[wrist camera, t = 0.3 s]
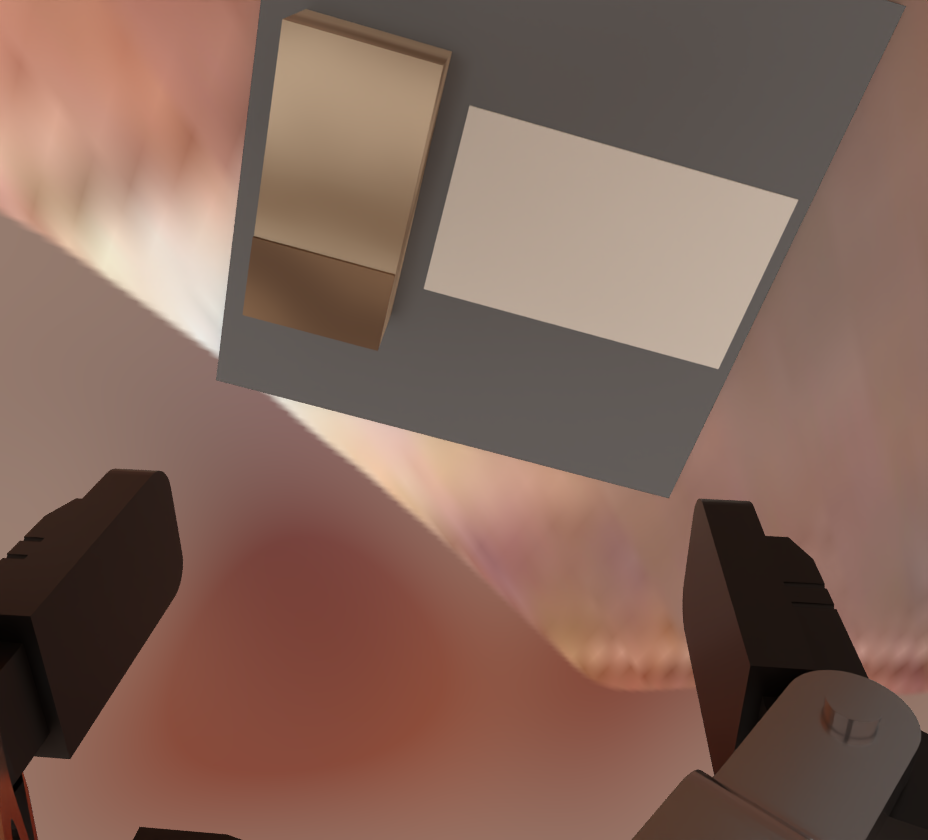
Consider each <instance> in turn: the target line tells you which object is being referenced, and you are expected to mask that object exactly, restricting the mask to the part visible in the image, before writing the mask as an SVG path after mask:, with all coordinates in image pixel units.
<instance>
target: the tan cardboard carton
mask: <svg viewBox="0 0 928 840" xmlns="http://www.w3.org/2000/svg"><path fill="white" fill-rule="evenodd" d="M451 54H452V51H449V50H446V49H442V48H439V47H435V46H432V45H428V44H425V43H421V42H418V41H415V40H411V39H408V38H404V37H401V36H397V35H394V34H390V33H387V32H384V31H380V30H377V29H373V28H370V27H366V26H363V25H360V24H356V23H353V22H349V21H346V20H342V19H339V18H335V17H332V16H329V15H325V14H322V13H318V12H315V11H311V10H308V9H305V10H302V11H300V12H298V13H296V14H293V15H291V16H289V17H286V18H284V19H282V26H281V33H280V41H279V49H278V56H277V64H276V71H275V79H274V87H273V94H272V102H271V109H270V117H269V125H268V132H267V140H266V147H265V155H264V163H263V170H262V178H261V186H260V193H259V201H258V208H257V216H256V224H255V231H254V236H253V238H252V246H251V253H250V261H249V269H248V276H247V284H246V292H245V299H244V307H243V315H244V316H248V317H252V318H256V319H259V320H263V321H267V322H271V323H274V324H278V325H282V326H286V327H289V328H293V329H297V330H301V331H304V332H308V333H312V334H316V335H319V336H323V337H327V338H331V339H334V340H338V341H342V342H346V343H349V344H353V345H357V346H361V347H364V348H368V349H372V350H376V351H378V349H379V346H380V343H381V341H382V338H383V335H384V332H385V330H386V327H387V324H388V322H389V319H390V316H391V313H392V308H393V304H394V300H395V295H396V291H397V287H398V282H399V278H400V274H401V270H402V265H403V261H404V257H405V252H406V248H407V244H408V239H409V235H410V231H411V226H412V222H413V218H414V214H415V209H416V205H417V201H418V196H419V192H420V188H421V183H422V179H423V175H424V170H425V166H426V162H427V158H428V153H429V149H430V145H431V140H432V136H433V132H434V127H435V123H436V119H437V115H438V110H439V106H440V102H441V97H442V93H443V89H444V84H445V80H446V76H447V71H448V67H449V63H450V59H451Z"/></svg>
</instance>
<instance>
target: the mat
mask: <svg viewBox="0 0 928 840" xmlns="http://www.w3.org/2000/svg"><path fill="white" fill-rule="evenodd" d="M905 7H906V6H903V5H900V4H897V3H894V2H890V1H887V0H261V5H260V13H259V22H258V30H257V39H256V47H255V56H254V64H253V73H252V81H251V90H250V98H249V106H248V115H247V123H246V132H245V140H244V149H243V157H242V166H241V174H240V183H239V191H238V200H237V208H236V217H235V225H234V233H233V242H232V250H231V259H230V267H229V276H228V284H227V293H226V301H225V310H224V318H223V327H222V335H221V343H220V352H219V362H218V369H217V377H216V380H217V381H221V382H225V383H229V384H233V385H237V386H241V387H244V388H248V389H252V390H256V391H260V392H263V393H267V394H271V395H275V396H279V397H283V398H286V399H290V400H294V401H298V402H302V403H306V404H309V405H313V406H317V407H321V408H325V409H329V410H332V411H336V412H340V413H344V414H348V415H352V416H355V417H359V418H363V419H367V420H371V421H375V422H378V423H382V424H386V425H390V426H394V427H398V428H401V429H405V430H409V431H413V432H417V433H421V434H424V435H428V436H432V437H436V438H440V439H444V440H447V441H451V442H455V443H459V444H463V445H467V446H470V447H474V448H478V449H482V450H486V451H490V452H493V453H497V454H501V455H505V456H509V457H513V458H516V459H520V460H524V461H528V462H532V463H536V464H539V465H543V466H547V467H551V468H555V469H559V470H562V471H566V472H570V473H574V474H578V475H582V476H585V477H589V478H593V479H597V480H601V481H605V482H608V483H612V484H616V485H620V486H624V487H628V488H631V489H635V490H639V491H643V492H647V493H651V494H654V495H658V496H662V497H666V498H669V496H670V494H671V492H672V490H673V488H674V486H675V484H676V482H677V480H678V478H679V476H680V474H681V472H682V470H683V467H684V465H685V463H686V461H687V459H688V457H689V455H690V453H691V451H692V449H693V447H694V445H695V443H696V441H697V438H698V436H699V434H700V432H701V430H702V428H703V426H704V424H705V422H706V420H707V418H708V416H709V414H710V411H711V409H712V407H713V405H714V403H715V401H716V399H717V397H718V395H719V393H720V391H721V389H722V387H723V385H724V382H725V380H726V378H727V376H728V374H729V372H730V370H731V368H732V366H733V364H734V362H735V360H736V358H737V356H738V353H739V351H740V349H741V347H742V345H743V343H744V341H745V339H746V337H747V335H748V333H749V331H750V329H751V326H752V324H753V322H754V320H755V318H756V316H757V314H758V312H759V310H760V308H761V306H762V304H763V302H764V300H765V297H766V295H767V293H768V291H769V289H770V287H771V285H772V283H773V281H774V279H775V277H776V275H777V273H778V271H779V268H780V266H781V264H782V262H783V260H784V258H785V256H786V254H787V252H788V250H789V248H790V246H791V244H792V241H793V239H794V237H795V235H796V233H797V231H798V229H799V227H800V225H801V223H802V221H803V219H804V217H805V215H806V212H807V210H808V208H809V206H810V204H811V202H812V200H813V198H814V196H815V194H816V192H817V190H818V188H819V186H820V183H821V181H822V179H823V177H824V175H825V173H826V171H827V169H828V167H829V165H830V163H831V161H832V159H833V156H834V154H835V152H836V150H837V148H838V146H839V144H840V142H841V140H842V138H843V136H844V134H845V132H846V130H847V127H848V125H849V123H850V121H851V119H852V117H853V115H854V113H855V111H856V109H857V107H858V105H859V103H860V101H861V98H862V96H863V94H864V92H865V90H866V88H867V86H868V84H869V82H870V80H871V78H872V76H873V74H874V71H875V69H876V67H877V65H878V63H879V61H880V59H881V57H882V55H883V53H884V51H885V49H886V47H887V45H888V42H889V40H890V38H891V36H892V34H893V32H894V30H895V28H896V26H897V24H898V22H899V20H900V18H901V15H902V13H903V11H904V9H905ZM305 9H308V10H311V11H315V12H318V13H322V14H325V15H329V16H332V17H335V18H339V19H342V20H346V21H349V22H353V23H356V24H360V25H363V26H366V27H370V28H373V29H377V30H380V31H384V32H387V33H390V34H394V35H397V36H401V37H404V38H408V39H411V40H415V41H418V42H421V43H425V44H428V45H432V46H435V47H439V48H442V49H446V50H449V51H452V54H451V59H450V63H449V67H448V71H447V76H446V80H445V84H444V89H443V93H442V97H441V102H440V106H439V110H438V115H437V119H436V123H435V127H434V132H433V136H432V140H431V145H430V149H429V153H428V158H427V162H426V166H425V170H424V175H423V179H422V183H421V188H420V192H419V196H418V201H417V205H416V209H415V214H414V218H413V222H412V226H411V231H410V235H409V239H408V244H407V248H406V252H405V257H404V261H403V265H402V270H401V274H400V278H399V282H398V287H397V291H396V295H395V300H394V304H393V308H392V313H391V316H390V319H389V322H388V324H387V327H386V330H385V332H384V335H383V338H382V341H381V343H380V346H379V349H378V351H376V350H372V349H368V348H364V347H361V346H357V345H353V344H349V343H346V342H342V341H338V340H334V339H331V338H327V337H323V336H319V335H316V334H312V333H308V332H304V331H301V330H297V329H293V328H289V327H286V326H282V325H278V324H274V323H271V322H267V321H263V320H259V319H256V318H252V317H248V316H244V315H243V307H244V299H245V292H246V284H247V276H248V269H249V261H250V253H251V246H252V238H253V236H254V231H255V224H256V216H257V208H258V201H259V193H260V186H261V178H262V170H263V163H264V155H265V147H266V140H267V132H268V125H269V117H270V109H271V102H272V94H273V87H274V79H275V71H276V64H277V56H278V49H279V41H280V33H281V26H282V19H284V18H286V17H289V16H291V15H293V14H296V13H298V12H300V11H302V10H305Z"/></svg>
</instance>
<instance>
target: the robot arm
mask: <svg viewBox="0 0 928 840" xmlns="http://www.w3.org/2000/svg"><path fill="white" fill-rule="evenodd" d="M182 570H183V556H182V550H181V544H180V538H179V533H178V526H177V521H176V515H175V510H174V503H173V498H172V492H171V487H170V482H169V479H168V477H167V476H166V474H165V473H164V472H162V471H151V470H132V469H112V470H110V471H109V472H108V473H107V474H105V476H104V477H103V478H102V479H101V480H100V481H99V482H98V483H97V484H96V485H95V486H94V487H93V488H92V489H91V490H90V491H89V492H88V493H87V494H86V495H85V496H84V497H83V498H82V499H78V498H77V499H74V500H72V501H71V502H69V503H67V504H65V505H63V506H62V507H60V508H58V509H56V510H55V511H53V512H51V513H49V514H47V515H46V516H44V517H43V519H41V520H40V521H39V522H38V523H37V524H36V525H35V526H34V527H33V528H32V529H31V530H30V531H29V532H28V533H27V534H26V535H25V536H24V541H19V542H18V543H17V545H15V546H14V547H13V549H12V550H11V551H9V552H8V553H7V558H2V559H1V560H0V840H38V837H37V831H36V826H35V821H34V816H33V811H32V805H31V800H30V796H29V790H28V786H27V783H26V779H25V777H24V773H23V771H24V770H25V768H26V767H27V765H28V764H29V762H30V761H31V760H32V758H33V757H34V756H37V757H50V758H62V759H70V758H71V757H72V755H73V754H74V752H75V751H76V749H77V747H78V746H79V745H80V743H81V741H82V740H83V738H84V737H85V735H86V734H87V732H88V731H89V729H90V727H91V726H92V724H93V723H94V721H95V720H96V718H97V717H98V715H99V714H100V712H101V710H102V709H103V707H104V706H105V704H106V702H107V701H108V700H109V698H110V696H111V695H112V693H113V692H114V690H115V689H116V687H117V685H118V684H119V682H120V681H121V679H122V678H123V676H124V675H125V673H126V672H127V670H128V668H129V667H130V665H131V664H132V662H133V661H134V659H135V658H136V656H137V654H138V653H139V651H140V650H141V648H142V647H143V645H144V644H145V642H146V641H147V639H148V637H149V636H150V634H151V633H152V631H153V630H154V628H155V627H156V625H157V624H158V622H159V620H160V619H161V617H162V616H163V614H164V613H165V611H166V609H167V608H168V606H169V605H170V603H171V602H172V600H173V599H174V597H175V595H176V593H177V591H178V588H179V585H180V581H181V577H182ZM824 585H825V584H824V581H823V579H822V577H821V575H820V573H819V571H818V569H817V566H816V564H815V562H814V560H813V559H812V558H811V557H810V556H809V555H808V554H807V553H806V552H804V551H803V550H802V549H801V548H800V547H799V546H798V545H796V544H795V543H794V542H793V541H792V540H791V539H790V538H789V537H774V536H765V534H764V531H763V529H762V526H761V524H760V521H759V519H758V516H757V514H756V511H755V509H754V506H753V504H752V503H751V502H750V501H735V500H714V499H698V500H697V502H696V505H695V509H694V514H693V521H692V528H691V536H690V543H689V550H688V557H687V565H686V572H685V579H684V587H683V623H684V630H685V635H686V640H687V645H688V650H689V655H690V660H691V664H692V669H693V674H694V679H695V684H696V689H697V694H698V698H699V703H700V708H701V713H702V718H703V723H704V728H705V733H706V737H707V742H708V747H709V752H710V757H711V762H712V767H713V771H714V776H713V777H711V776H709V775H708V774H706V773H704V772H703V771H701V770H695V771H693V772H691V773H690V774H689V775H687V776H686V777H685V778H684V779H683V780H682V781H681V782H680V783H679V785H678V786H677V787H676V788H675V790H674V791H673V792H672V793H671V794H670V795H669V796H668V798H667V799H666V800H665V801H664V802H663V803H662V805H661V806H660V807H659V808H658V809H657V810H656V812H655V813H654V814H653V815H652V816H651V818H650V819H649V820H648V821H647V822H646V823H645V825H644V826H643V827H642V828H641V829H640V830H639V832H638V833H637V834H636V835H635V836H634V837H633V839H632V840H928V734H927V733H925V732H923V731H921V729H920V725H919V723H918V720H917V718H916V716H915V715H914V713H913V712H912V710H911V709H910V708H909V707H908V705H907V704H906V703H905V702H904V701H903V700H902V699H901V698H899V697H898V696H897V695H896V694H895V693H893V692H892V691H890V690H889V689H887V688H886V687H884V686H882V685H880V684H879V683H877V682H875V681H873V680H870V679H868V676H867V674H866V672H865V670H864V668H863V666H862V663H861V661H860V659H859V657H858V655H857V653H856V650H855V648H854V646H853V644H852V642H851V640H850V638H849V635H848V633H847V631H846V629H845V627H844V625H843V622H842V620H841V618H840V616H839V614H838V612H837V609H834V603H833V601H832V599H831V597H830V594H829V592H828V590H827V589H825V588H824ZM133 840H241V839H238V838H235V837H232V836H229V835H226V834H215V833H203V832H192V831H180V830H168V829H157V828H156V829H155V828H146V827H139V829H138V831H137V833H136V835H135V837H134V839H133Z"/></svg>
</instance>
